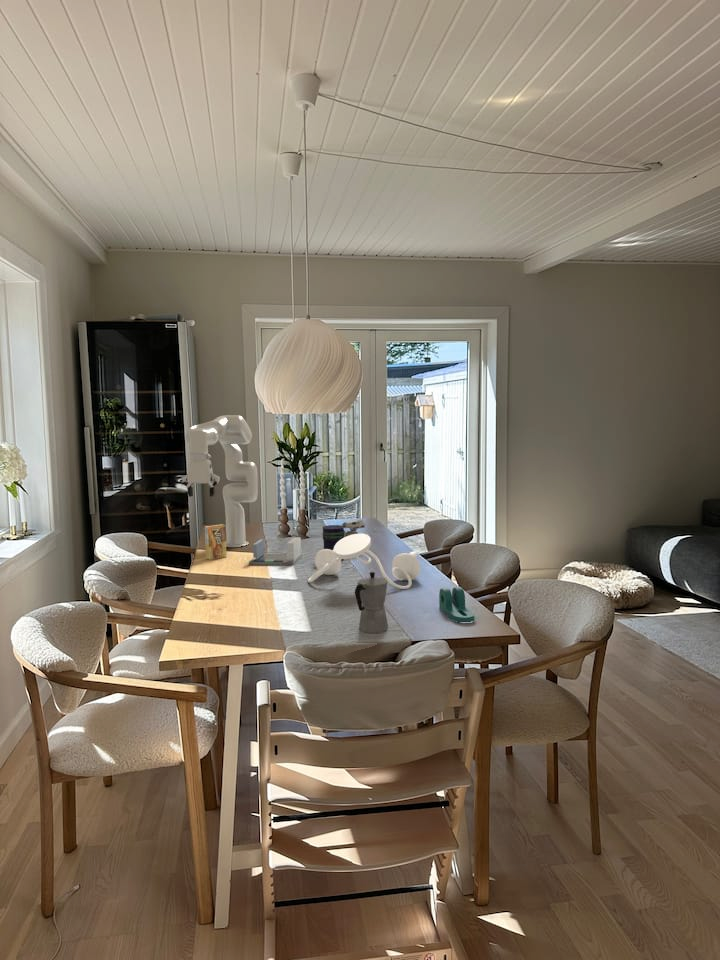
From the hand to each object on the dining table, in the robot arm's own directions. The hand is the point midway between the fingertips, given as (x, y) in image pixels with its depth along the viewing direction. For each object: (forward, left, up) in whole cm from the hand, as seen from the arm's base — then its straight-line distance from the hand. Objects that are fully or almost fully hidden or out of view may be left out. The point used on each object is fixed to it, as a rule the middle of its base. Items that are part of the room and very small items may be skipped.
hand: (201, 496), depth 300 cm
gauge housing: (-11, +30, -31) cm, 44 cm away
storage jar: (-15, +56, -31) cm, 66 cm away
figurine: (-32, +63, -31) cm, 77 cm away
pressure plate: (-10, +22, -29) cm, 38 cm away
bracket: (+65, +111, -32) cm, 133 cm away
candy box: (-15, 0, -31) cm, 35 cm away
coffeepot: (+82, +85, -31) cm, 122 cm away
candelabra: (+23, +74, -32) cm, 84 cm away
